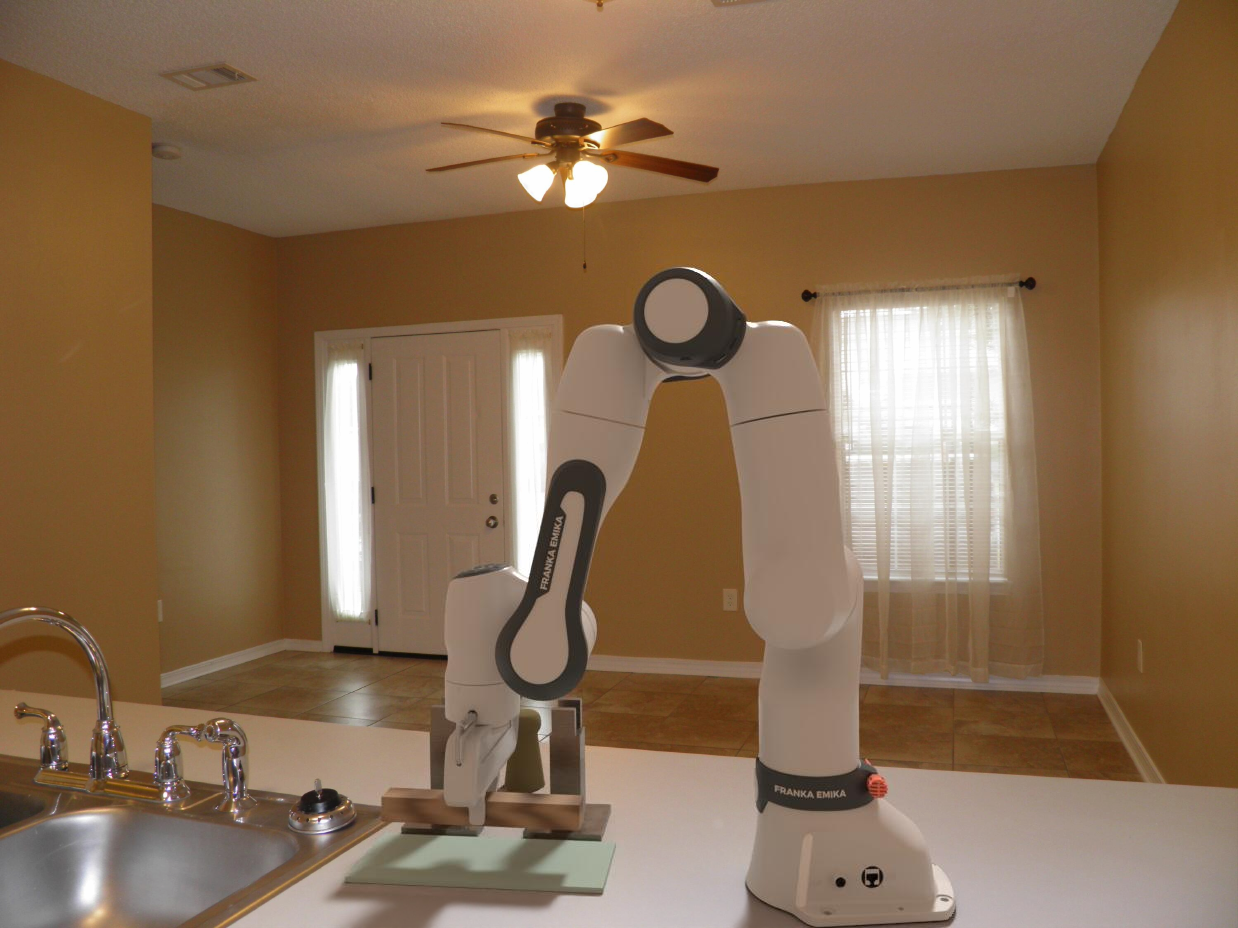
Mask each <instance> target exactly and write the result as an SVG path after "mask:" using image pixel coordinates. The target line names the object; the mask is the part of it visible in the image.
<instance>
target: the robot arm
mask: <svg viewBox="0 0 1238 928" xmlns="http://www.w3.org/2000/svg"><path fill="white" fill-rule="evenodd" d="M819 373H820V372H819V370H818V367H817V363H816V360H815V357H814V355H813V353H812V349H811V347H810V344H809V342H808V339H807V336H805V334H804V333H803V331H802V330H801V329H800V328H799V327H797V326H796V325H794V324H791V323H788V322H785V321H780V320H765V321H758V322H749V321H748V320H747V316H746V314H745V312H744V311H742V309H741V308H740V307H739V306H738V304H737V303H736V302H735V301H734V299H732V298H731V296H730V295H729V294H728V293H727V291H726V290H725V289H724V288H723V286H722V285H721V284H720V283H719V282H718V281H717V280H716V279H715V278H713V277H712V276H711V275H709V274H707V273H706V272H704V271H702V270H699V269H696V268H694V267H686V266H678V267H676V266H675V267H670V268H667V269H663V270H661V271H659V272H657V273H655V274H654V275H652V276H651V277H649V279H648V280H647V281H646V282H645V283H644V284H643V286H642V287H641V288H640V290H639V291H638V293H637V295H636V298H635V301H634V304H633V309H632V323H631V324H628V325H619V324H612V323H611V324H610V323H609V324H607V323H606V324H605V323H604V324H597V325H593V326H590V327H588V328H586V329H584V330H583V331H582V332H581V333H579V334H578V336H577V338H576V339H575V341H574V342H573V346H572V348H571V350H570V353H569V355H568V357H567V361H566V362H565V366H564V368H563V372H562V374H561V377H560V381H559V384H558V388H557V391H556V395H555V400H554V404H553V409H554V410H552V413H551V419H550V426H549V432H548V441H547V452H546V469H545V470H546V475H545V489H544V490H545V491H544V502H543V503H544V504H543V513H542V518H541V523H540V526H539V531H538V536H537V539H536V540H537V541H536V545H535V548H534V554H533V557H532V562H531V566H530V570H529V575H528V577H527V576H525V575H523V574H522V573H520V572H519V571H518V570H517V569H515V567H514V566H512V565H510V564H506V563H491V564H484V565H479V566H476V567H475V566H474V567H473V568H468V569H466V570H464V571H462V572H460V573H458V574H457V575H456V576H454V577H453V579H452V580H451V581H450V582H449V584H448V589H447V593H446V599H445V609H444V610H445V611H444V633H443V635H444V645H445V648H446V651H447V664H446V669H445V671H444V672H445V673H444V695H445V716H446V718H447V719H448V720H450V721H452V722H455V723H456V730H455V731H454V732H453V733H452V734H451V735H450V737H449V739H448V741H447V745H446V752H445V768H444V799H445V802H446V804H447V805H448V806H454V807H468V809H469V822H470V824H472V825H483V824H484V822H485V820H486V819H487V806H485V795H486V791H487V792H498V787H499V782H500V776H501V770H502V769H503V768H504V766H505V765H506V764H507V761H508V759H509V758H510V756H511V755H512V753H513V752H514V751H515V748H516V743H517V737H518V724H519V712H520V709H521V708H520V707H521V700H523V698H525V699H528V700H532V701H538V702H549V701H554V700H558V699H559V698H561V697H565V696H567V695H568V694H570V693H571V692H572V691H573V690H574V689H576V687H577V686H579V684H580V682H581V681H582V679H583V677H584V675H585V673H586V669H587V666H588V661H589V658H590V656H591V654H592V651H593V648H594V646H595V643H596V641H597V637H598V621H597V617H596V615H595V613H594V611H593V609H592V607H591V606H590V605H589V603H588V602H586V601H585V599H584V597H585V591H586V587H587V582H588V577H589V572H590V568H591V565H592V559H593V555H594V552H595V545H596V543H597V539H598V535H599V533H600V529H601V527H602V525H603V522H604V520H605V518H606V517H607V514H608V512H609V511H610V509H611V508H612V506H613V504H614V503H615V501H616V500H617V499H618V497H619V496H620V494H621V493H622V491H623V490H624V489H625V487H626V485H627V483H628V482H629V479H630V477H631V476H632V475H631V474H632V472H633V470H634V467H635V465H636V462H637V459H638V456H639V453H640V451H641V450H640V449H641V446H642V444H643V443H642V442H643V438H644V434H645V430H646V429H645V428H646V425H647V424H646V423H647V419H648V414H649V409H650V405H651V401H652V398H653V395H654V393H655V391H656V389H657V388H658V386H659V385H660V384H661V383H663V384H664V383H665V384H666V383H673V382H675V383H676V382H681V381H694V380H695V381H696V380H702V379H705V378H708V377H709V378H710V377H711V376H712V377H714V379H715V380H716V381H717V382H718V383H719V386H720V388H721V390H722V394H723V396H724V400H725V401H724V402H725V406H726V410H727V417H728V424H729V429H730V435H731V442H732V447H733V453H734V460H735V466H736V470H737V471H736V473H737V477H738V478H737V479H738V485H739V493H740V501H741V502H740V503H741V540H742V543H741V545H742V561H743V573H744V590H743V591H744V593H743V609H744V613H745V617H746V618H747V621H748V623H749V626H750V627H751V629H752V630H753V631H754V632H755V633H756V634H757V636H759V638H761V639H762V640H763V641H765V645H764V652H763V653H764V654H763V663H762V669H761V676H760V680H759V685H758V748H759V749H758V752H759V753H758V754H757V755H756V758H755V767H754V773H753V774H754V776H753V777H754V803H755V806H756V809H757V817H756V818H757V820H756V826H755V836H754V843H753V848H752V853H751V858H750V862H749V864H748V865H749V866H748V869H747V873H746V876H745V883H746V886H747V888H748V889H749V890H750V892H751V893H752V894H753V895H754V896H755V897H756V898H758V899H759V900H761V901H763V902H765V903H767V904H768V905H770V906H771V907H775V908H778V909H780V910H783V911H785V912H787V913H790V914H792V915H794V916H795V917H797V919H799V920H800V921H802V922H804V923H805V924H807V925H809V926H812V927H815V928H816V927H817V928H820V927H821V928H823V927H824V928H825V927H842V926H844V927H845V926H846V927H847V926H856V925H857V926H861V925H862V926H863V925H880V924H897V923H899V924H901V923H917V922H933V921H934V922H936V921H946V920H949V919H950V918H951V917H953V915H954V913H955V911H956V907H957V906H956V904H955V903H956V896H955V890H954V887H953V884H952V883H951V881H950V879H949V877H948V876H947V874H946V873H945V872H944V870H942V868H941V867H940V866H939V865H937V864H936V863H935V862H934V861H932V857H931V853H930V849H929V846H928V843H927V842H926V839H925V837H924V835H923V834H922V832H921V830H920V828H919V827H918V826H917V825H916V824H915V823H914V821H912V820H911V819H910V818H909V817H908V816H906V815H905V814H903V813H902V812H901V811H900V810H898V809H897V808H896V807H894V806H893V805H892V804H891V803H890V802H887V801H886V800H885V799H884V798H885V797H886V795H887V794H888V793H889V792H888V791H889V788H888V784H887V783H886V780H885V778H884V777H883V776H882V775H880V774H879V773H878V770H877V768H875V767H874V766H872V764H871V762H869V760H868V759H867V758H865V760H863V759H862V758H860V731H859V730H860V710H859V707H860V705H859V704H860V703H859V702H860V701H859V700H860V697H859V695H860V693H859V692H860V676H861V663H862V662H861V661H862V648H863V647H862V646H863V645H862V644H863V643H862V642H863V625H864V624H863V620H864V618H863V617H864V590H865V588H864V587H865V583H864V581H865V580H864V572H863V570H862V567H861V564H860V561H859V560H858V558H857V557H856V555H855V554H854V552H853V551H852V550H851V549H850V548H849V547H848V546H847V545H846V544H844V535H843V525H842V524H843V523H842V514H841V512H842V511H841V499H840V498H841V497H840V496H841V495H840V476H839V470H838V465H837V464H838V463H837V458H836V452H835V448H834V447H835V446H834V443H833V442H834V441H833V435H832V430H831V424H830V419H829V412H828V408H827V401H826V398H825V397H826V396H825V392H824V389H823V384H822V379H821V377H820V374H819ZM955 906H956V907H955ZM954 910H955V911H954ZM953 912H954V913H953ZM952 914H953V915H952ZM949 917H950V918H949Z"/></svg>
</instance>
